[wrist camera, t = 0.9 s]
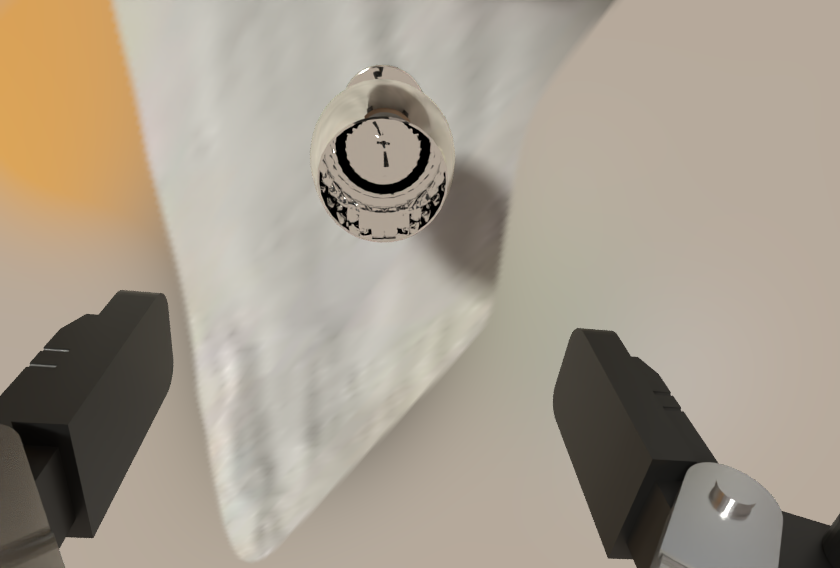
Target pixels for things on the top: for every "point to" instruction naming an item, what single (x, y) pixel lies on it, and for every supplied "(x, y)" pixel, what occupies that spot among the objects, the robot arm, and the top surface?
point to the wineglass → (382, 156)
